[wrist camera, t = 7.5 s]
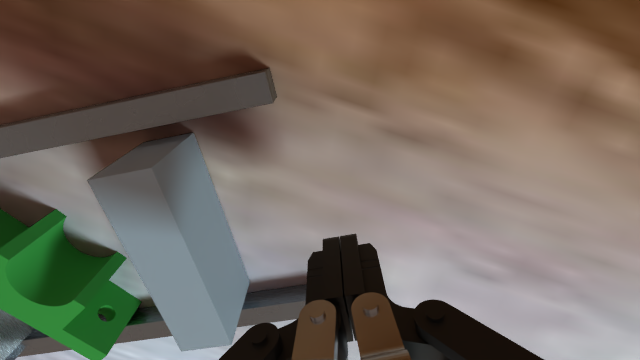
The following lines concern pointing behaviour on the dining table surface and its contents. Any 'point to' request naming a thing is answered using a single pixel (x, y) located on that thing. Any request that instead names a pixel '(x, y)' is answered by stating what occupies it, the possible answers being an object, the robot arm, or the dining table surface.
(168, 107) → the vise
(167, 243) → the block
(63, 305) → the pipe clamp
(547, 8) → the dining table surface
